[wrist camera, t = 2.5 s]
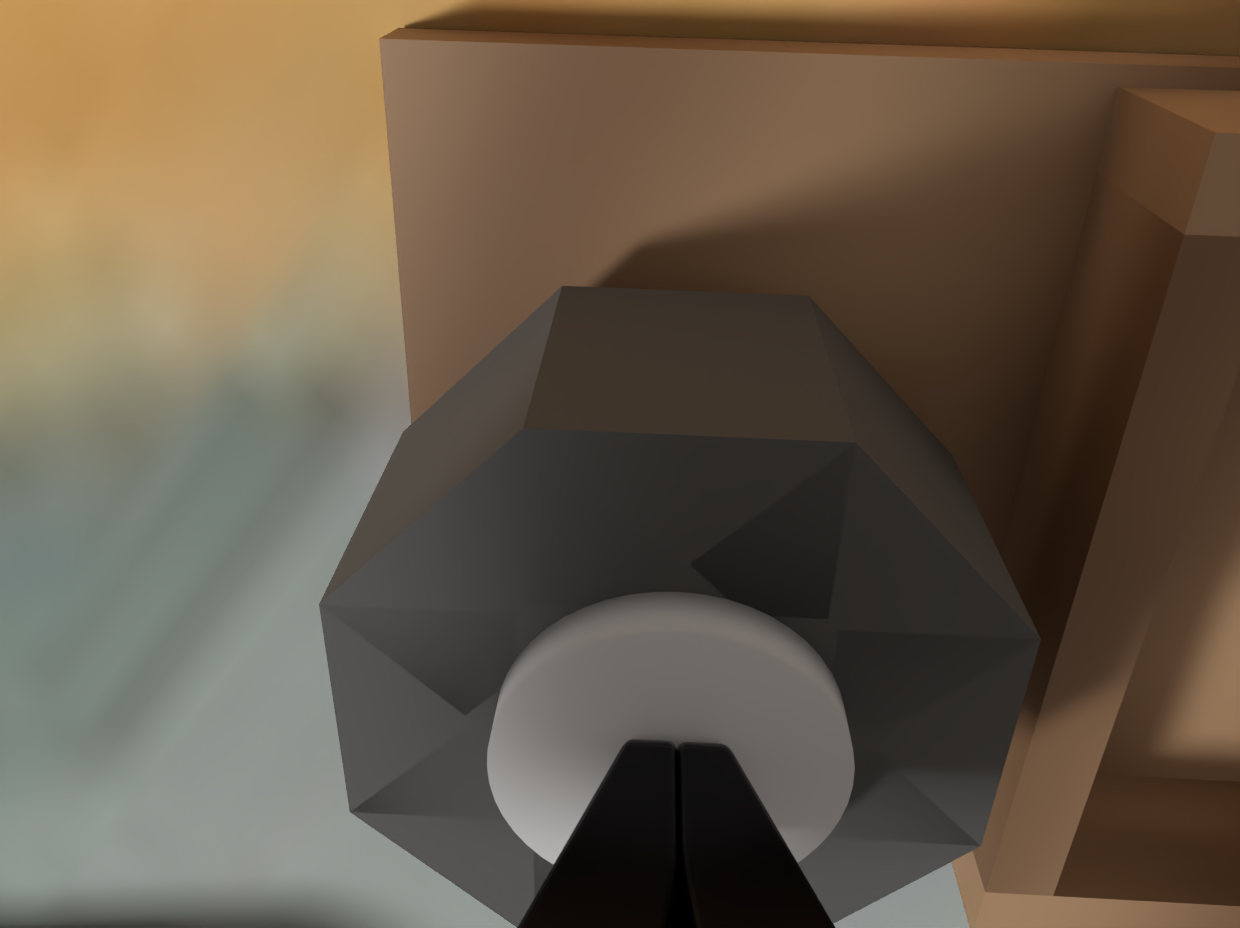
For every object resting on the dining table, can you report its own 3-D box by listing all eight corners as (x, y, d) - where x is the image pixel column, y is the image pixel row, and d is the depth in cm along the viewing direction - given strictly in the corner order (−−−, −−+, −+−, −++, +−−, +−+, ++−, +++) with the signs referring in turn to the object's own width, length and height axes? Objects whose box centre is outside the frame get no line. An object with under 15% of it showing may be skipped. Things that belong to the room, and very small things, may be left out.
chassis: (2036, 82, 10) (2629, 172, 7) (1550, 807, 15) (1772, 1045, 12) (398, 28, 10) (286, 89, 7) (452, 750, 15) (398, 965, 12)
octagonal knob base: (985, 302, 10) (1120, 489, 7) (891, 743, 13) (959, 1010, 10) (389, 278, 10) (268, 450, 7) (428, 719, 13) (354, 975, 10)
